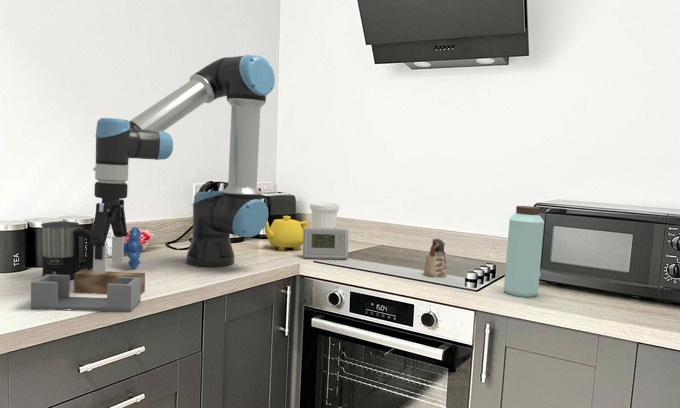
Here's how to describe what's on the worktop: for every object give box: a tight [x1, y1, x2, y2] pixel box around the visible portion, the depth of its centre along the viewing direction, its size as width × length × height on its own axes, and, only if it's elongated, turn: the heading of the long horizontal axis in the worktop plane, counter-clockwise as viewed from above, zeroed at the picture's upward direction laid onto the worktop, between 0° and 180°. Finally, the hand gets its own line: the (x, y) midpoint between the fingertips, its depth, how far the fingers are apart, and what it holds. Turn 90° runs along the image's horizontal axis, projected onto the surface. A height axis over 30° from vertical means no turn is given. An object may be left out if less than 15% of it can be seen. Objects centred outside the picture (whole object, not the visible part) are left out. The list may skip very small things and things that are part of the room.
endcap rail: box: [30, 274, 142, 313], centre depth 129 cm, size 21×8×6 cm, turn 95°
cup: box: [309, 202, 340, 228], centre depth 238 cm, size 12×12×15 cm
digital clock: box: [302, 227, 349, 261], centre depth 200 cm, size 16×9×11 cm, turn 86°
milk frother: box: [40, 221, 94, 280], centre depth 157 cm, size 14×16×15 cm
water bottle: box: [503, 205, 545, 298], centre depth 162 cm, size 10×10×25 cm
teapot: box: [264, 215, 309, 252], centre depth 214 cm, size 13×20×12 cm
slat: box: [73, 269, 146, 295], centre depth 142 cm, size 16×4×5 cm, turn 92°
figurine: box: [423, 238, 448, 278], centre depth 181 cm, size 7×7×12 cm
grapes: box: [123, 226, 144, 269], centre depth 170 cm, size 12×7×12 cm, turn 19°
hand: (108, 267), depth 141 cm, fingers open, 13 cm apart
